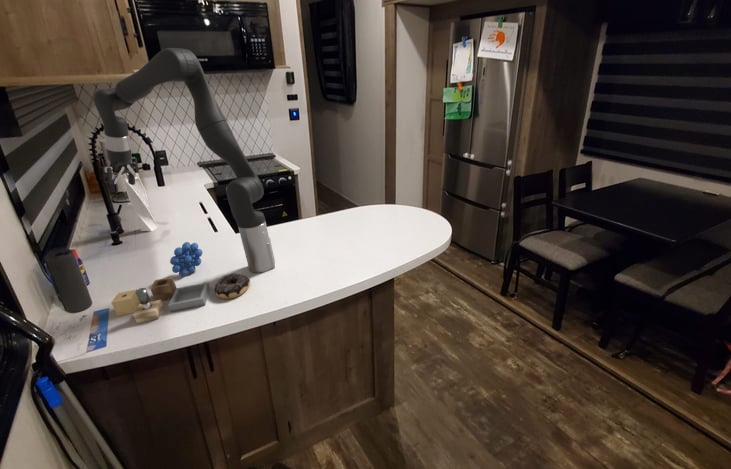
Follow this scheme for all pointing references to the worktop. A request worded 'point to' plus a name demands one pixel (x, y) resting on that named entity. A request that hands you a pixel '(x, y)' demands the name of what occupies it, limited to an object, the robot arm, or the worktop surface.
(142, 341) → the worktop surface
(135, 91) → the robot arm
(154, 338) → the worktop surface
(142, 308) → the stand
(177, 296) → the tray
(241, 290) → the donut
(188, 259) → the grapes
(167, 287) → the block
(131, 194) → the skyscraper
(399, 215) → the worktop surface
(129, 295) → the block
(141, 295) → the cylinder
